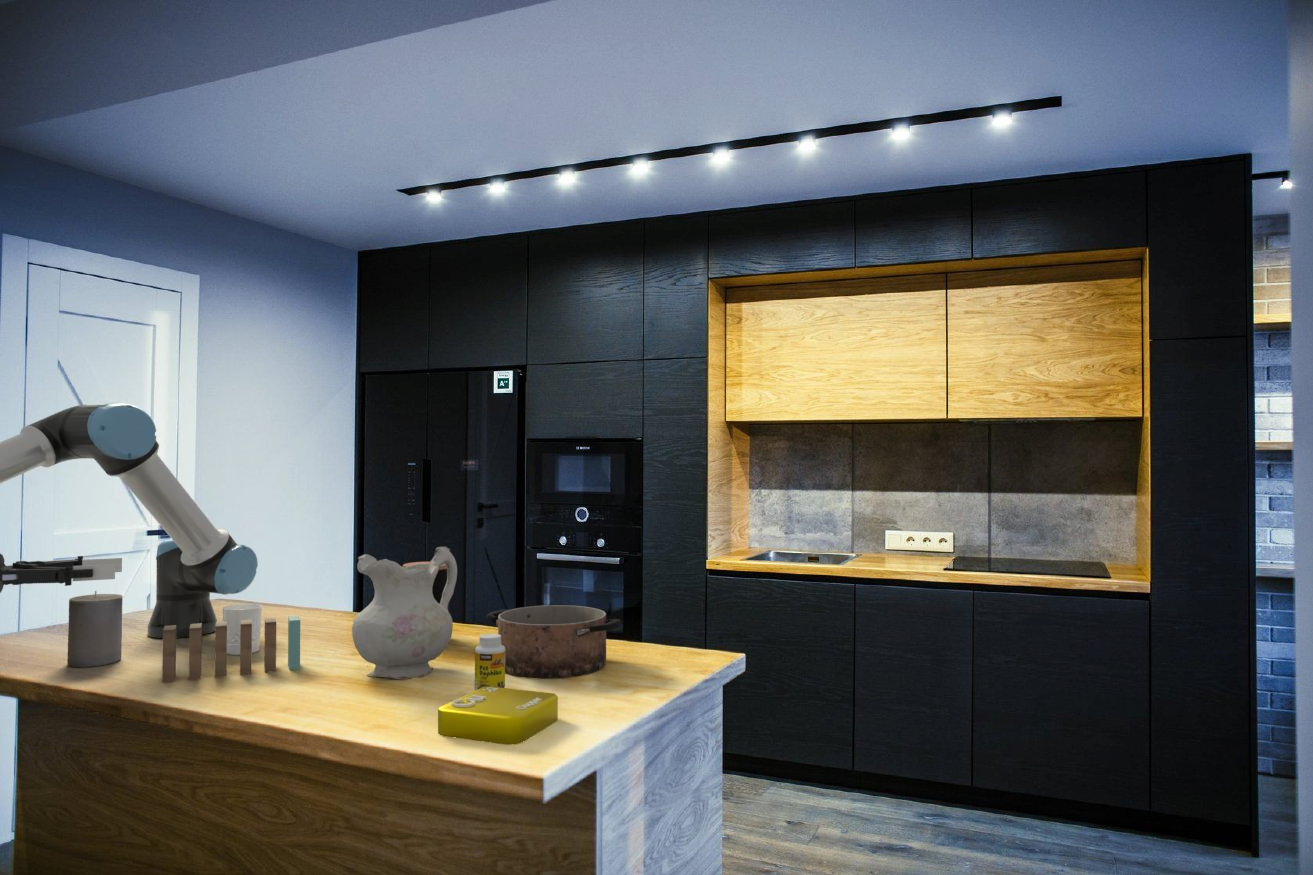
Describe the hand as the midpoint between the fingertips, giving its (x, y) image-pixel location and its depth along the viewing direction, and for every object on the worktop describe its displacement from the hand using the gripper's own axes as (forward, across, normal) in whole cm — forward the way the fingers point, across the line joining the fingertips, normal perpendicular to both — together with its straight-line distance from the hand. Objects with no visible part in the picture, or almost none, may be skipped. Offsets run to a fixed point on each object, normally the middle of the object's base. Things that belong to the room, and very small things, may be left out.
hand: (118, 568), depth 166 cm
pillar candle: (-6, -23, -22) cm, 33 cm away
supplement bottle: (+63, +36, -22) cm, 76 cm away
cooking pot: (+80, +22, -22) cm, 86 cm away
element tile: (+58, +57, -23) cm, 85 cm away
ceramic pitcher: (+52, +14, -22) cm, 58 cm away
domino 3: (+18, 0, -22) cm, 28 cm away
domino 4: (+22, 0, -22) cm, 31 cm away
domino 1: (+9, 0, -22) cm, 24 cm away
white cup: (+22, -20, -22) cm, 37 cm away
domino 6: (+31, 0, -22) cm, 38 cm away
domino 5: (+27, 0, -22) cm, 35 cm away
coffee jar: (+61, -14, -22) cm, 66 cm away
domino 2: (+13, 0, -22) cm, 26 cm away
